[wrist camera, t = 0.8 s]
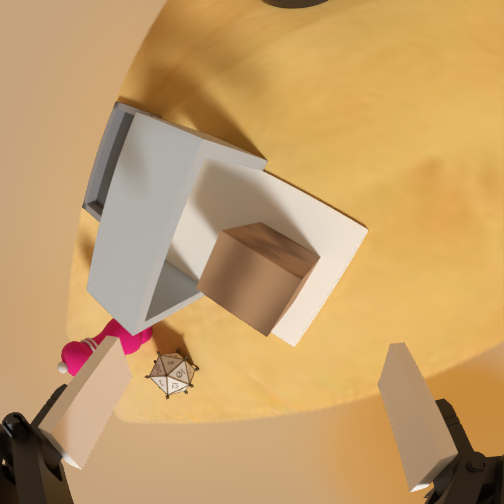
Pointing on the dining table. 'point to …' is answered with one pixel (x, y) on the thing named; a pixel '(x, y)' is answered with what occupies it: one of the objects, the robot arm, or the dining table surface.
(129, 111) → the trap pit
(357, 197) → the dining table surface
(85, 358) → the pepper mill
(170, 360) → the game die
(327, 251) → the tunnel
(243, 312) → the walnut block
